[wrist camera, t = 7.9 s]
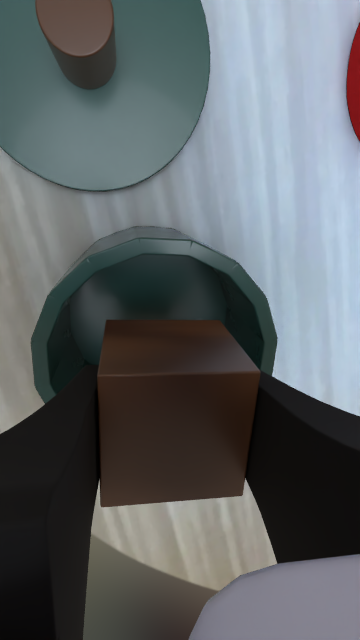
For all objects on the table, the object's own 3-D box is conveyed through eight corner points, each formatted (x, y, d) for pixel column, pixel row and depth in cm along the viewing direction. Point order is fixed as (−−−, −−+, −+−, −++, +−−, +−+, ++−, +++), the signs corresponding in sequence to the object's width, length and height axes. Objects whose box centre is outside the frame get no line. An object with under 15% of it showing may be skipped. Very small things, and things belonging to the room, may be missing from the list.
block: (107, 419, 13) (100, 508, 9) (106, 319, 12) (97, 375, 8) (210, 414, 14) (243, 496, 10) (220, 319, 12) (261, 371, 9)
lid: (-24, 184, 16) (-79, 178, 12) (-63, -124, 12) (-158, -289, 8) (196, 198, 17) (219, 197, 13) (215, -69, 14) (253, -183, 10)
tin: (64, 393, 20) (41, 468, 14) (54, 221, 17) (20, 232, 11) (224, 388, 21) (259, 455, 16) (242, 230, 18) (293, 244, 13)
